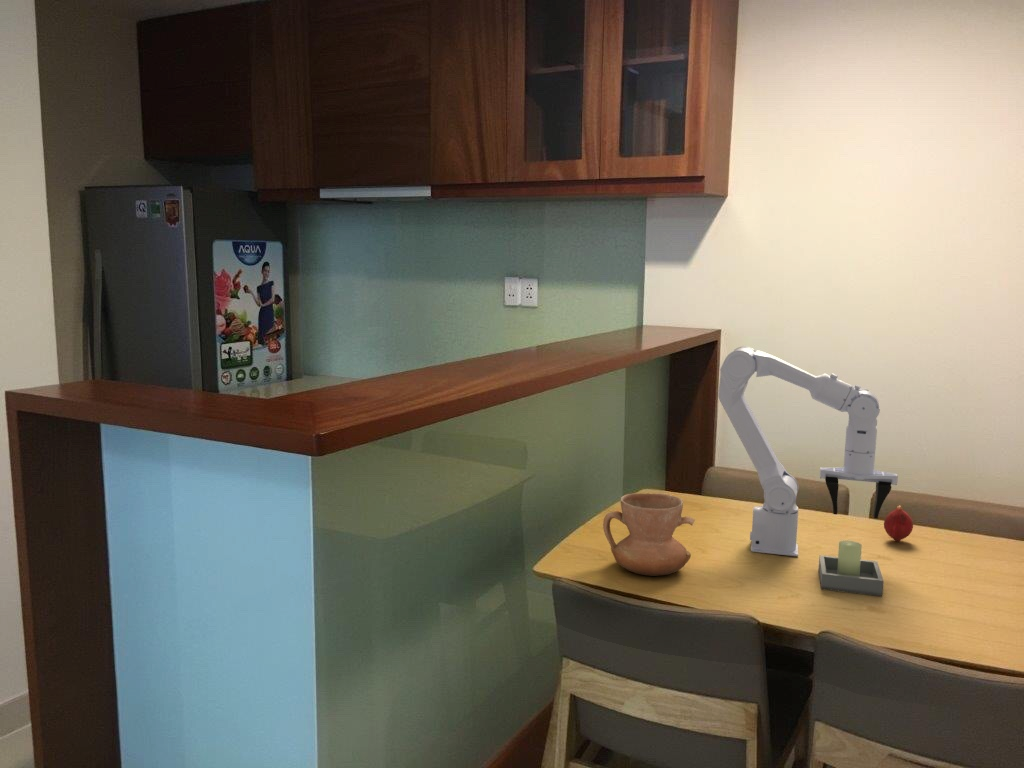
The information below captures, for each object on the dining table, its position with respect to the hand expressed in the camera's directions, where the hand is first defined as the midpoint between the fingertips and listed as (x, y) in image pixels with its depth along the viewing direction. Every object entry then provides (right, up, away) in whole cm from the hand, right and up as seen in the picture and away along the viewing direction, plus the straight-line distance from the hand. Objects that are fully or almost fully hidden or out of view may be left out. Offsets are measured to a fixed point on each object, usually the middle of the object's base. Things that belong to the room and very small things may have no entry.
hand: (855, 515), depth 172 cm
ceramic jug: (-43, -10, -5) cm, 45 cm away
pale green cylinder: (-6, -11, -11) cm, 17 cm away
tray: (-6, -11, -11) cm, 17 cm away
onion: (+14, -8, +13) cm, 21 cm away
